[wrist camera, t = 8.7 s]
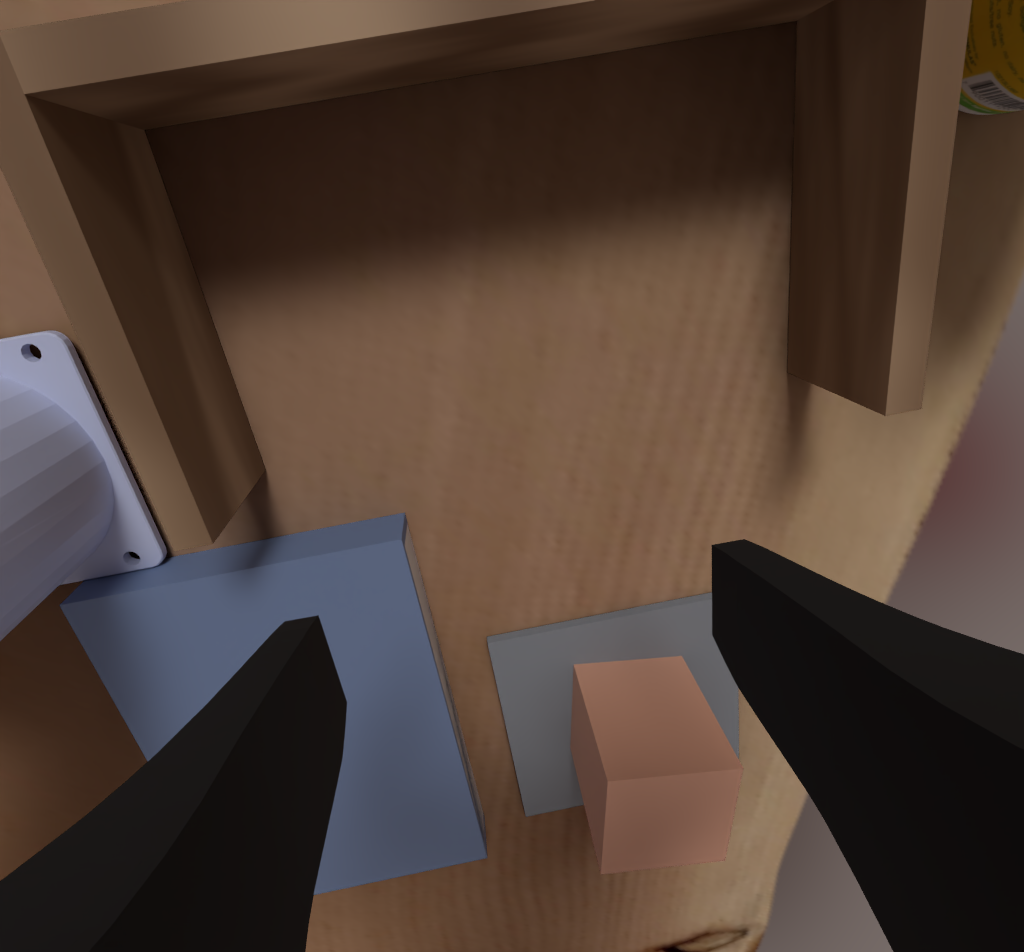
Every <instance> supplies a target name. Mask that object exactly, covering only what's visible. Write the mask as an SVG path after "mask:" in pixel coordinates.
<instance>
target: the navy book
mask: <svg viewBox="0 0 1024 952" xmlns="http://www.w3.org/2000/svg"><path fill="white" fill-rule="evenodd" d="M59 606H60V607H61V609H62V611H63V613H64V615H65V616H66V618H67V620H68V622H69V623H70V625H71V627H72V629H73V630H74V632H75V634H76V636H77V638H78V639H79V641H80V643H81V645H82V646H83V648H84V650H85V652H86V653H87V655H88V657H89V659H90V660H91V662H92V664H93V666H94V668H95V669H96V671H97V673H98V675H99V676H100V678H101V680H102V682H103V683H104V685H105V687H106V689H107V691H108V692H109V694H110V696H111V698H112V699H113V701H114V703H115V705H116V706H117V708H118V710H119V712H120V714H121V715H122V717H123V719H124V721H125V722H126V724H127V726H128V728H129V729H130V731H131V733H132V735H133V736H134V738H135V740H136V742H137V744H138V745H139V747H140V749H141V751H142V752H143V754H144V756H145V758H146V759H147V761H149V760H150V759H151V758H152V757H153V756H154V755H156V754H157V753H158V752H159V751H160V750H161V749H162V748H163V747H164V746H165V745H166V744H167V743H168V742H169V741H170V740H171V739H172V738H173V737H174V736H175V735H176V734H177V733H178V732H179V731H180V730H181V729H182V728H183V727H184V726H185V725H186V724H187V723H188V722H189V721H190V720H191V719H192V718H193V717H194V716H195V715H196V714H197V713H198V712H199V711H200V710H201V709H202V708H203V707H204V706H205V705H206V704H207V703H208V702H209V701H210V700H211V699H212V698H213V697H214V696H215V695H216V694H217V692H218V691H219V690H220V689H221V688H222V687H223V686H224V685H225V684H226V683H227V682H228V681H229V680H230V679H231V678H232V676H233V675H234V674H235V673H236V672H237V671H238V670H239V669H240V668H241V667H242V666H243V665H244V664H245V662H246V661H247V660H248V659H249V658H250V657H251V656H252V655H253V654H254V653H255V652H256V650H257V649H258V648H259V647H260V646H261V645H262V644H263V643H264V642H265V641H266V640H267V639H268V637H269V636H270V635H271V634H272V633H273V632H274V631H275V630H276V629H277V628H278V627H279V626H280V625H281V624H282V623H283V622H284V621H290V620H295V619H301V618H306V617H312V616H318V615H319V618H320V621H321V624H322V627H323V630H324V633H325V637H326V640H327V643H328V646H329V649H330V652H331V655H332V658H333V661H334V664H335V667H336V670H337V673H338V676H339V679H340V682H341V685H342V688H343V691H344V694H345V697H346V700H347V712H346V727H345V739H344V749H343V758H342V763H341V768H340V773H339V778H338V783H337V788H336V793H335V797H334V802H333V807H332V811H331V816H330V821H329V825H328V830H327V834H326V839H325V844H324V848H323V853H322V858H321V862H320V867H319V871H318V876H317V881H316V885H315V890H314V895H316V894H321V893H325V892H330V891H335V890H339V889H344V888H349V887H354V886H358V885H363V884H368V883H372V882H377V881H382V880H386V879H391V878H396V877H400V876H405V875H410V874H414V873H419V872H424V871H428V870H433V869H438V868H442V867H447V866H452V865H457V864H461V863H466V862H471V861H475V860H480V859H485V858H487V846H486V832H485V818H484V813H483V810H482V806H481V802H480V798H479V794H478V790H477V787H476V783H475V779H474V775H473V771H472V768H471V764H470V760H469V756H468V752H467V748H466V745H465V741H464V737H463V733H462V729H461V726H460V722H459V718H458V714H457V710H456V706H455V703H454V699H453V695H452V691H451V687H450V684H449V680H448V676H447V672H446V668H445V664H444V661H443V657H442V653H441V649H440V645H439V641H438V638H437V634H436V630H435V626H434V622H433V619H432V615H431V611H430V607H429V603H428V599H427V596H426V592H425V588H424V584H423V580H422V577H421V573H420V569H419V565H418V561H417V557H416V554H415V550H414V546H413V542H412V538H411V535H410V531H409V527H408V523H407V519H406V515H405V513H401V514H396V515H390V516H385V517H380V518H375V519H369V520H364V521H359V522H354V523H348V524H343V525H338V526H333V527H327V528H322V529H317V530H312V531H306V532H301V533H296V534H291V535H285V536H280V537H275V538H270V539H264V540H259V541H254V542H249V543H243V544H238V545H233V546H228V547H222V548H217V549H212V550H207V551H201V552H196V553H191V554H186V555H180V556H175V557H170V558H165V559H164V560H163V561H162V562H161V563H160V564H159V565H158V566H155V567H152V568H147V569H142V570H137V571H131V572H126V573H121V574H116V575H111V576H105V577H100V578H95V579H90V580H84V581H83V582H82V583H81V584H80V585H79V586H78V587H77V588H76V589H75V590H74V591H73V592H72V593H71V594H70V595H69V596H68V597H67V598H66V599H65V600H64V601H63V602H62V603H61V604H60V605H59Z"/></svg>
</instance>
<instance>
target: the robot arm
mask: <svg viewBox="0 0 1024 952" xmlns="http://www.w3.org/2000/svg"><path fill="white" fill-rule="evenodd" d="M31 344H33V345H35V346H36V347H38V349H39V350H40V351H41V355H42V356H41V359H38V358H36V357H35V356H33V354H32V353H31V352H30V345H31ZM129 552H134V553H136V554H138V556H139V557H140V559H135V558H133V557H131V555H130V554H129ZM166 554H167V550H166V547H165V545H164V542H163V540H162V538H161V536H160V534H159V531H158V529H157V527H156V525H155V523H154V521H153V518H152V516H151V514H150V512H149V510H148V507H147V505H146V503H145V501H144V499H143V496H142V494H141V492H140V490H139V488H138V486H137V483H136V481H135V479H134V477H133V475H132V472H131V470H130V468H129V466H128V464H127V461H126V459H125V457H124V455H123V453H122V451H121V448H120V446H119V444H118V442H117V440H116V437H115V435H114V433H113V431H112V429H111V426H110V424H109V422H108V420H107V418H106V416H105V413H104V411H103V409H102V407H101V405H100V402H99V400H98V398H97V396H96V394H95V391H94V389H93V387H92V385H91V383H90V381H89V378H88V376H87V374H86V372H85V370H84V367H83V365H82V363H81V361H80V359H79V357H78V354H77V352H76V350H75V348H74V346H73V344H72V342H71V341H70V339H69V338H68V337H66V336H65V335H64V334H63V333H60V332H57V331H42V332H37V333H31V334H25V335H20V336H14V337H8V338H3V339H0V641H1V640H2V639H3V638H4V637H5V636H6V635H7V634H8V633H9V632H11V631H12V630H13V629H14V628H15V627H16V626H17V625H18V624H19V623H20V622H21V621H22V620H23V619H24V618H25V617H26V616H27V615H28V614H29V613H31V612H32V611H33V610H34V609H35V608H36V607H37V606H38V605H39V604H40V603H41V602H42V601H43V600H44V599H45V598H46V597H47V596H48V595H49V594H51V593H52V592H53V591H54V590H55V589H56V588H57V587H58V586H59V585H63V584H69V583H74V582H79V581H84V580H90V579H95V578H100V577H105V576H111V575H116V574H121V573H126V572H131V571H137V570H142V569H147V568H152V567H155V566H158V565H159V564H160V563H161V562H162V561H163V560H164V559H165V557H166ZM712 636H713V638H714V640H715V642H716V644H717V646H718V648H719V651H720V653H721V655H722V657H723V659H724V661H725V663H726V665H727V667H728V669H729V671H730V673H731V675H732V677H733V679H734V681H735V683H736V684H737V686H738V688H739V689H740V691H741V692H742V694H743V695H744V697H745V698H746V700H747V702H748V703H749V705H750V706H751V708H752V709H753V711H754V712H755V714H756V715H757V717H758V718H759V720H760V721H761V723H762V724H763V726H764V727H765V729H766V730H767V732H768V733H769V735H770V736H771V738H772V739H773V741H774V742H775V744H776V745H777V747H778V748H779V750H780V751H781V753H782V754H783V756H784V757H785V759H786V760H787V762H788V763H789V765H790V766H791V768H792V769H793V771H794V773H795V774H796V776H797V777H798V779H799V780H800V782H801V783H802V785H803V786H804V788H805V789H806V791H807V792H808V794H809V795H810V797H811V799H812V800H813V802H814V803H815V805H816V807H817V808H818V810H819V812H820V813H821V815H822V817H823V818H824V820H825V822H826V824H827V825H828V827H829V829H830V831H831V833H832V835H833V837H834V838H835V840H836V842H837V844H838V846H839V848H840V850H841V851H842V853H843V855H844V857H845V859H846V861H847V863H848V864H849V866H850V868H851V870H852V872H853V874H854V876H855V877H856V879H857V881H858V883H859V885H860V887H861V889H862V891H863V893H864V895H865V897H866V899H867V901H868V902H869V905H870V907H871V909H872V911H873V913H874V914H875V916H876V918H877V920H878V922H879V924H880V926H881V928H882V930H883V932H884V934H885V936H886V938H887V940H888V942H889V944H890V946H891V948H892V950H893V951H894V952H1024V654H1021V653H1017V652H1015V651H1011V650H1008V649H1005V648H1002V647H998V646H995V645H992V644H989V643H986V642H983V641H981V640H977V639H975V638H972V637H969V636H966V635H963V634H960V633H957V632H955V631H952V630H949V629H946V628H943V627H940V626H938V625H935V624H932V623H930V622H927V621H925V620H922V619H919V618H917V617H914V616H912V615H910V614H907V613H905V612H902V611H900V610H897V609H895V608H893V607H890V606H888V605H886V604H883V603H881V602H878V601H876V600H874V599H871V598H869V597H867V596H865V595H862V594H860V593H858V592H856V591H854V590H851V589H849V588H847V587H845V586H843V585H841V584H838V583H836V582H834V581H832V580H830V579H828V578H826V577H824V576H822V575H819V574H817V573H815V572H813V571H811V570H809V569H807V568H805V567H803V566H801V565H799V564H797V563H795V562H793V561H791V560H789V559H787V558H785V557H782V556H780V555H778V554H776V553H774V552H772V551H770V550H768V549H766V548H764V547H761V546H759V545H757V544H755V543H752V542H750V541H747V540H745V539H743V540H737V541H732V542H726V543H721V544H715V545H712ZM346 712H347V700H346V697H345V694H344V691H343V688H342V685H341V682H340V679H339V676H338V673H337V670H336V667H335V664H334V661H333V658H332V655H331V652H330V649H329V646H328V643H327V640H326V637H325V633H324V630H323V627H322V624H321V621H320V618H319V615H318V616H312V617H306V618H301V619H295V620H290V621H284V622H283V623H282V624H281V625H280V626H279V627H278V628H277V629H276V630H275V631H274V632H273V633H272V634H271V635H270V636H269V637H268V639H267V640H266V641H265V642H264V643H263V644H262V645H261V646H260V647H259V648H258V649H257V650H256V652H255V653H254V654H253V655H252V656H251V657H250V658H249V659H248V660H247V661H246V662H245V664H244V665H243V666H242V667H241V668H240V669H239V670H238V671H237V672H236V673H235V674H234V675H233V676H232V678H231V679H230V680H229V681H228V682H227V683H226V684H225V685H224V686H223V687H222V688H221V689H220V690H219V691H218V692H217V694H216V695H215V696H214V697H213V698H212V699H211V700H210V701H209V702H208V703H207V704H206V705H205V706H204V707H203V708H202V709H201V710H200V711H199V712H198V713H197V714H196V715H195V716H194V717H193V718H192V719H191V720H190V721H189V722H188V723H187V724H186V725H185V726H184V727H183V728H182V729H181V730H180V731H179V732H178V733H177V734H176V735H175V736H174V737H173V738H172V739H171V740H170V741H169V742H168V743H167V744H166V745H165V746H164V747H163V748H162V749H161V750H160V751H159V752H158V753H157V754H156V755H154V756H153V757H152V758H151V759H150V760H149V761H148V762H147V763H146V764H145V765H144V766H143V767H141V768H140V769H139V770H138V771H137V772H136V773H135V774H134V775H133V776H131V777H130V778H129V779H128V780H127V781H126V782H125V783H123V784H122V785H121V786H120V787H119V788H118V789H116V790H115V791H114V792H113V793H112V794H111V795H109V796H108V797H107V798H106V799H105V800H104V801H102V802H101V803H100V804H99V805H98V806H96V807H95V808H94V809H93V810H92V811H91V812H89V813H88V814H87V815H86V816H84V817H83V818H82V819H81V820H80V821H78V822H77V823H76V824H74V825H73V826H72V827H71V828H69V829H68V830H67V831H65V832H64V833H63V834H61V835H60V836H59V837H58V838H56V839H55V840H54V841H52V842H51V843H50V844H48V845H47V846H46V847H44V848H43V849H42V850H41V851H39V852H38V853H37V854H35V855H34V856H33V857H31V858H30V859H29V860H28V861H26V862H25V863H24V864H22V865H21V866H20V867H18V868H17V869H16V870H14V871H13V872H12V873H11V874H9V875H8V876H7V877H5V878H4V879H3V880H1V881H0V952H305V949H306V941H307V932H308V924H309V918H310V913H311V907H312V901H313V895H314V890H315V885H316V881H317V876H318V871H319V867H320V862H321V858H322V853H323V848H324V844H325V839H326V834H327V830H328V825H329V821H330V816H331V811H332V807H333V802H334V797H335V793H336V788H337V783H338V778H339V773H340V768H341V763H342V758H343V749H344V739H345V727H346Z"/></svg>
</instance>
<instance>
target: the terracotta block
mask: <svg viewBox="0 0 1024 952" xmlns="http://www.w3.org/2000/svg"><path fill="white" fill-rule="evenodd" d="M570 748H571V753H572V757H573V761H574V765H575V769H576V773H577V778H578V782H579V786H580V790H581V794H582V798H583V803H584V807H585V811H586V815H587V819H588V823H589V828H590V832H591V836H592V840H593V844H594V848H595V853H596V857H597V861H598V865H599V869H600V873H601V875H602V874H611V873H620V872H629V871H638V870H646V869H655V868H664V867H673V866H682V865H691V864H700V863H709V862H718V861H725V859H726V854H727V849H728V844H729V839H730V834H731V829H732V824H733V819H734V814H735V809H736V803H737V798H738V793H739V788H740V783H741V778H742V773H743V767H742V765H741V763H740V761H739V759H738V758H737V756H736V754H735V752H734V750H733V748H732V747H731V745H730V743H729V741H728V739H727V737H726V736H725V734H724V732H723V730H722V728H721V726H720V725H719V723H718V721H717V719H716V717H715V715H714V714H713V712H712V710H711V708H710V706H709V704H708V703H707V701H706V699H705V697H704V695H703V693H702V692H701V690H700V688H699V686H698V684H697V683H696V681H695V679H694V677H693V675H692V673H691V672H690V670H689V668H688V666H687V664H686V662H685V661H684V659H683V657H682V656H675V657H662V658H649V659H637V660H624V661H611V662H599V663H586V664H574V667H573V692H572V717H571V742H570Z"/></svg>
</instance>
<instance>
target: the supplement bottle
mask: <svg viewBox="0 0 1024 952" xmlns="http://www.w3.org/2000/svg"><path fill="white" fill-rule="evenodd" d="M958 110H959V111H962V112H965V113H970V114H976V115H993V114H1000V113H1009V112H1015V111H1020V110H1024V0H972V4H971V12H970V20H969V28H968V36H967V44H966V52H965V60H964V69H963V77H962V85H961V93H960V101H959V109H958Z"/></svg>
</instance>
